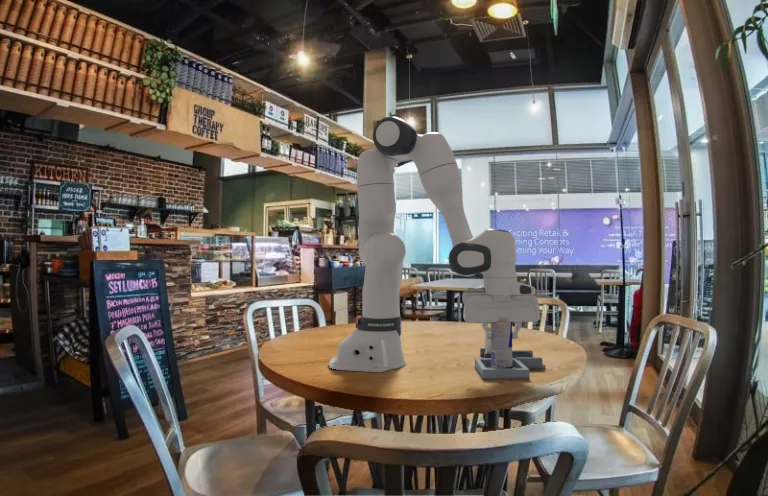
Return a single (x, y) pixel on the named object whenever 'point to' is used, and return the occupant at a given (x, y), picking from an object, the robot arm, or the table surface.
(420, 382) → the table surface
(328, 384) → the table surface
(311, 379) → the table surface
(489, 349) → the cylinder
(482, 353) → the clip
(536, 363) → the grey stepped base
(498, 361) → the beverage can
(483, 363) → the tray
